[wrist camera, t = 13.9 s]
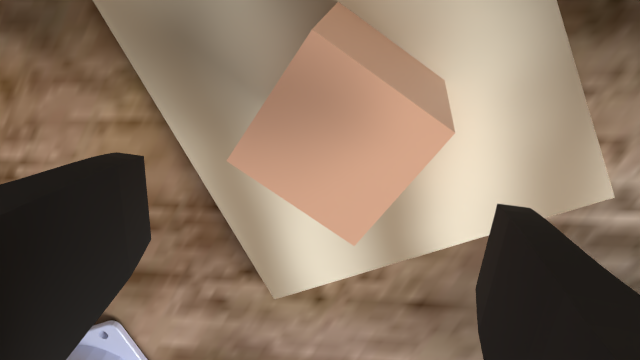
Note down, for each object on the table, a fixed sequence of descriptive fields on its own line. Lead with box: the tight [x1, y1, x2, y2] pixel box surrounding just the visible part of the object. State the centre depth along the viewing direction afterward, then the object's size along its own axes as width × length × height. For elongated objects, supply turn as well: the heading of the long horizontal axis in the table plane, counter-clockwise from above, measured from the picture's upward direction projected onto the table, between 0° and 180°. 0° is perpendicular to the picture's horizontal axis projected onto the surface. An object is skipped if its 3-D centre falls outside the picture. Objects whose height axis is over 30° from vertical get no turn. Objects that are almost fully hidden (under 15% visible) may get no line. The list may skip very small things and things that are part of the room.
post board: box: [93, 0, 615, 299], centre depth 18 cm, size 14×14×4 cm
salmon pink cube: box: [227, 2, 455, 246], centre depth 16 cm, size 4×4×5 cm
